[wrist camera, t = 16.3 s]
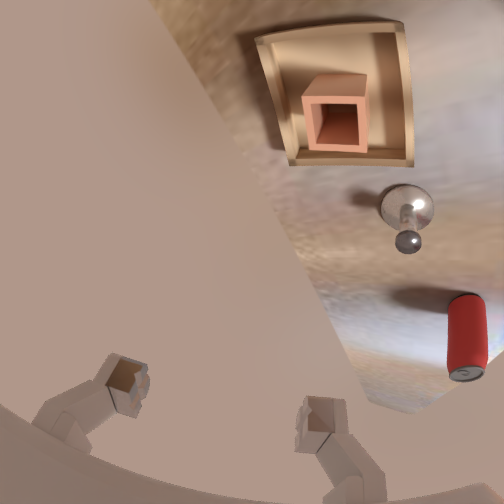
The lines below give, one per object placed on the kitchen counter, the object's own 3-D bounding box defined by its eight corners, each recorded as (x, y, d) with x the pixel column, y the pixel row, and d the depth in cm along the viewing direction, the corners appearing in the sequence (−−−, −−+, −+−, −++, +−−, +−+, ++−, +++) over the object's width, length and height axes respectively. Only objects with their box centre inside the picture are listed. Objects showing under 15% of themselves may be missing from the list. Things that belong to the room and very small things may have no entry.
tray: (264, 34, 23) (253, 38, 21) (400, 21, 18) (403, 23, 16) (296, 152, 32) (289, 166, 30) (411, 152, 27) (414, 167, 25)
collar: (317, 74, 24) (301, 96, 20) (367, 74, 22) (364, 96, 18) (323, 118, 27) (309, 150, 23) (370, 119, 26) (367, 152, 21)
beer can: (468, 286, 36) (470, 361, 29) (492, 302, 36) (496, 373, 29) (439, 307, 41) (436, 376, 34) (464, 320, 41) (463, 386, 34)
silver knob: (380, 183, 31) (378, 218, 27) (435, 186, 28) (442, 222, 25) (381, 227, 35) (377, 263, 32) (430, 230, 33) (433, 267, 29)
